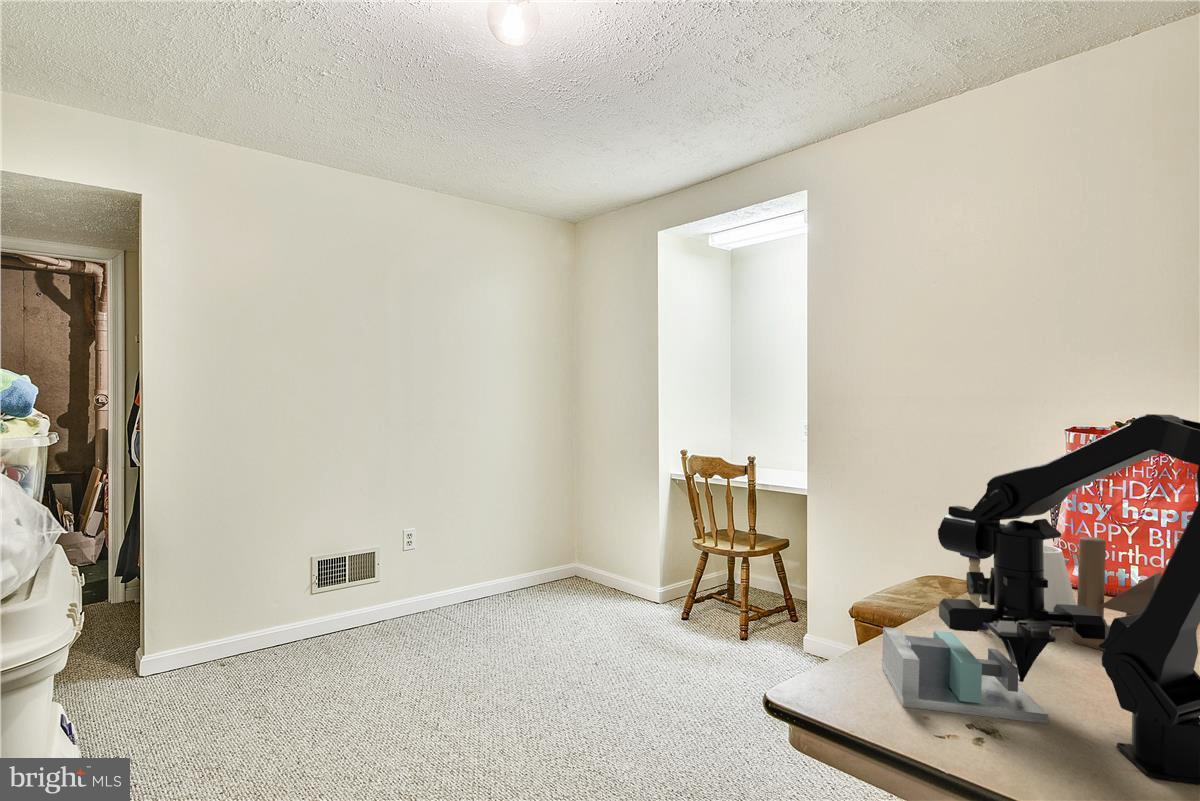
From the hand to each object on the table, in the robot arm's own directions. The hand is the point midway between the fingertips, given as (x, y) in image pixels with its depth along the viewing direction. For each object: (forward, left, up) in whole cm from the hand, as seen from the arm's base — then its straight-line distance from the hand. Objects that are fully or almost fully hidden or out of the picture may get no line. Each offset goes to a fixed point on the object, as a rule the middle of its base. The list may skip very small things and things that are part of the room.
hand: (1019, 680), depth 88 cm
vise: (0, +8, -3) cm, 8 cm away
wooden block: (+24, -23, -3) cm, 33 cm away
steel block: (0, +12, -1) cm, 12 cm away
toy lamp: (+31, -4, -3) cm, 31 cm away
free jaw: (0, +5, -1) cm, 6 cm away
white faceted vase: (+37, -16, -3) cm, 40 cm away
